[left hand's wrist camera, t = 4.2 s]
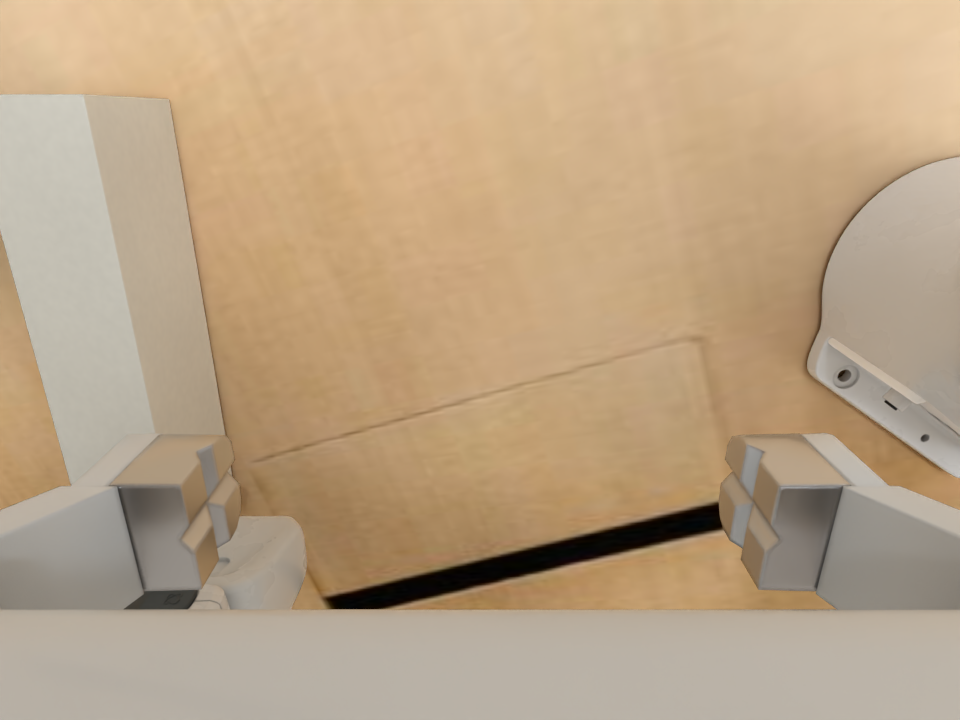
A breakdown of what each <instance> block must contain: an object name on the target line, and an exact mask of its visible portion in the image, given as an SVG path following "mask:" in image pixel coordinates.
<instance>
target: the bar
mask: <svg viewBox="0 0 960 720" xmlns="http://www.w3.org/2000/svg"><path fill="white" fill-rule="evenodd" d="M0 232H1V235H2V239H3V242H4V246H5V250H6V253H7V257H8V260H9V264H10V268H11V271H12V275H13V278H14V282H15V286H16V289H17V293H18V296H19V300H20V304H21V307H22V311H23V314H24V318H25V321H26V325H27V329H28V332H29V336H30V339H31V343H32V347H33V350H34V354H35V357H36V361H37V365H38V368H39V372H40V375H41V379H42V383H43V386H44V390H45V393H46V397H47V401H48V404H49V408H50V411H51V415H52V419H53V422H54V426H55V429H56V433H57V437H58V440H59V444H60V447H61V451H62V455H63V458H64V462H65V465H66V469H67V473H68V476H69V480H70V483H71V485H72V484H74V483H75V482H76V481H77V480H78V479H79V478H80V477H81V476H82V475H83V474H85V473H86V472H87V471H88V470H89V469H90V468H91V467H92V466H93V465H95V464H96V463H97V462H98V461H99V460H100V459H101V458H102V457H103V456H104V455H106V454H107V453H108V452H109V451H110V450H111V449H112V448H113V447H114V446H115V445H117V444H118V443H119V442H120V441H121V440H122V439H123V438H124V437H125V436H126V435H129V434H149V433H162V434H201V435H225V430H224V424H223V418H222V412H221V406H220V400H219V394H218V388H217V382H216V376H215V370H214V364H213V358H212V352H211V346H210V340H209V334H208V328H207V322H206V316H205V310H204V304H203V298H202V292H201V287H200V281H199V275H198V269H197V263H196V257H195V251H194V245H193V239H192V233H191V227H190V221H189V215H188V209H187V203H186V197H185V191H184V185H183V179H182V173H181V167H180V161H179V155H178V149H177V143H176V137H175V131H174V125H173V119H172V113H171V108H170V102H169V99H158V98H141V97H123V96H105V95H87V94H0ZM228 473H229V474H230V475H231V476H232V471H231V466H230V468H229V470H228Z"/></svg>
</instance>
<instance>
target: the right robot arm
mask: <svg viewBox="0 0 960 720" xmlns="http://www.w3.org/2000/svg"><path fill="white" fill-rule="evenodd" d="M217 550H218V555H219V561H218V562H217V564H216V566H215V568H214V569H213V571H212V573H211V574H210V576H209V578H208V579H207V581H206V583H205V585H204V586H203V588H202V590H170V591H144V594H143V595H142V596H141V597H139V598H138V599H136V600H135V601H134V602H132V603H131V604H130V605H128V606H127V607H126V608H124V609H265V610H291V608H292V606H293V604H294V602H295V600H296V598H297V595H298V593H299V591H300V589H301V586H302V584H303V581H304V578H305V575H306V569H307V556H306V545H305V539H304V534H303V530H302V528H301V527H300V525H299V524H298V523H297V521H296V520H295V519H294V518H292V517H290V516H240V517H239V521H238V526H237V529H236V531H235V533H234V534H233V536H232V538H231V540H230V541H229V542H227V543H225V544H224V545H222V546H220V547H219V548H217Z"/></svg>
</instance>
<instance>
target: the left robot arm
mask: <svg viewBox="0 0 960 720" xmlns="http://www.w3.org/2000/svg"><path fill="white" fill-rule="evenodd" d="M807 370H808V372H809V373H810V375H811V376H812V377H813V378H815V379H816V380H818V381H819V382H820V383H822V384H823V385H825V386H826V387H827V388H829V389H830V390H832V391H833V392H834V393H836V394H837V395H839V396H840V397H841V398H843V399H844V400H846V401H847V402H848V403H850V404H851V405H853V406H854V407H855V408H857V409H858V410H860V411H861V412H862V413H864V414H865V415H867V416H868V417H869V418H871V419H872V420H874V421H875V422H876V423H878V424H879V425H881V426H882V427H883V428H885V429H886V430H888V431H889V432H890V433H892V434H893V435H895V436H896V437H897V438H899V439H900V440H902V441H903V442H904V443H906V444H907V445H909V446H910V447H911V448H913V449H914V450H916V451H917V452H918V453H920V454H921V455H923V456H924V457H925V458H927V459H928V460H930V461H931V462H932V463H934V464H935V465H937V466H938V467H940V468H941V469H942V470H944V471H946V472H947V473H949V474H951V475H953V476H954V477H957V478H960V157H955V158H949V159H945V160H941V161H937V162H934V163H931V164H928V165H925V166H923V167H920V168H918V169H916V170H914V171H912V172H910V173H908V174H906V175H904V176H902V177H901V178H899V179H897V180H896V181H894V182H893V183H891V184H890V185H888V186H887V187H886V188H884V189H883V190H882V191H880V192H879V193H878V194H877V195H876V196H875V197H873V198H872V199H871V200H870V201H869V202H868V203H867V204H866V205H865V206H864V207H863V208H862V209H861V210H860V211H859V213H858V214H857V215H856V216H855V217H854V219H853V220H852V221H851V222H850V224H849V225H848V226H847V228H846V229H845V231H844V232H843V234H842V236H841V237H840V239H839V241H838V243H837V245H836V246H835V249H834V251H833V253H832V255H831V258H830V260H829V263H828V266H827V270H826V273H825V278H824V283H823V289H822V319H821V327H820V330H819V332H818V334H817V336H816V339H815V341H814V343H813V346H812V348H811V351H810V353H809V356H808V360H807ZM842 370H845V373H844V374H843V375H842V376H841V377H838V374H839V373H840V372H841V371H842ZM234 460H235V457H234V453H233V448H232V443H231V441H230V440H229V438H228V437H227V436H226V435H201V434H162V433H149V434H129V435H126V436H125V437H124V438H123V439H122V440H121V441H120V442H119V443H118V444H117V445H115V446H114V447H113V448H112V449H111V450H110V451H109V452H108V453H107V454H106V455H104V456H103V457H102V458H101V459H100V460H99V461H98V462H97V463H96V464H95V465H93V466H92V467H91V468H90V469H89V470H88V471H87V472H86V473H85V474H83V475H82V476H81V477H80V478H79V479H78V480H77V481H76V482H75V483H74V484H72V485H71V486H59V487H57V488H54V489H52V490H49V491H47V492H44V493H42V494H39V495H37V496H34V497H32V498H29V499H27V500H24V501H22V502H19V503H17V504H14V505H12V506H9V507H7V508H4V509H2V510H0V720H960V510H958V509H956V508H953V507H951V506H948V505H946V504H943V503H941V502H938V501H936V500H933V499H931V498H928V497H926V496H923V495H921V494H918V493H916V492H913V491H911V490H908V489H906V488H903V487H901V486H889V485H888V484H886V483H885V482H884V481H883V480H882V479H881V478H880V477H879V476H878V475H877V474H875V473H874V472H873V471H872V470H871V469H870V468H869V467H868V466H867V465H866V464H865V463H863V462H862V461H861V460H860V459H859V458H858V457H857V456H856V455H855V454H854V453H852V452H851V451H850V450H849V449H848V448H847V447H846V446H845V445H844V444H843V443H841V442H840V441H839V440H838V439H837V438H836V437H835V436H834V435H831V434H827V433H814V434H763V435H737V436H732V437H731V439H730V442H729V444H728V446H727V452H726V457H725V460H726V462H727V463H728V465H729V466H730V468H731V470H732V473H731V474H730V475H729V476H728V477H727V478H726V479H725V480H724V481H723V482H722V483H721V488H720V495H719V510H720V519H721V522H722V525H723V529H724V531H725V533H726V535H727V536H728V538H729V540H730V541H731V542H733V543H735V544H736V545H738V546H740V547H741V548H743V550H742V555H741V561H742V562H743V564H744V566H745V568H746V569H747V571H748V573H749V574H750V576H751V578H752V579H753V581H754V583H755V584H756V586H757V588H758V590H789V591H816V594H817V595H818V596H820V597H821V598H822V599H824V600H825V601H826V602H828V603H829V604H831V605H832V606H833V607H835V608H836V609H837V610H265V609H124V608H126V607H127V606H128V605H130V604H131V603H132V602H134V601H135V600H136V599H138V598H139V597H141V596H142V595H143V594H144V591H170V590H202V588H203V586H204V585H205V583H206V581H207V579H208V578H209V576H210V574H211V573H212V571H213V569H214V568H215V566H216V564H217V562H218V561H219V555H218V550H217V548H219V547H220V546H222V545H224V544H225V543H227V542H229V541H230V540H231V538H232V536H233V534H234V533H235V531H236V529H237V526H238V521H239V517H240V513H241V493H240V487H239V483H238V482H237V481H236V480H235V479H234V478H233V477H232V476H231V475H230V474H229V473H228V470H229V468H230V466H231V465H232V463H233V462H234Z"/></svg>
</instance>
